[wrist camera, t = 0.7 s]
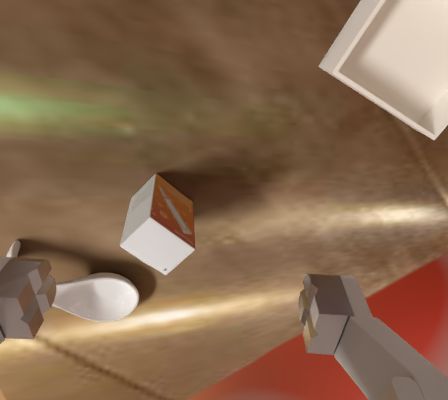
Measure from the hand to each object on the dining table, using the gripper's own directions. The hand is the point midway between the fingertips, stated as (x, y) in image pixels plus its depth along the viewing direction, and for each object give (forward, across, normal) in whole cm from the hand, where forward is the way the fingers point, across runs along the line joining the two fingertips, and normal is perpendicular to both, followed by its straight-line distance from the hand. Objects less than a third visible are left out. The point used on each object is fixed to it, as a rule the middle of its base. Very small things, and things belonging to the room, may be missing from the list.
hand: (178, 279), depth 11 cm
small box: (+40, +8, +23) cm, 47 cm away
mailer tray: (+45, -27, -1) cm, 52 cm away
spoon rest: (+37, +24, +39) cm, 59 cm away
